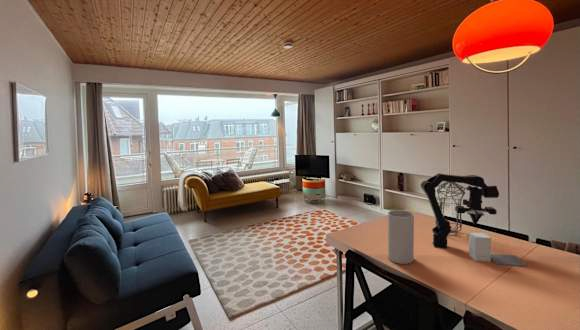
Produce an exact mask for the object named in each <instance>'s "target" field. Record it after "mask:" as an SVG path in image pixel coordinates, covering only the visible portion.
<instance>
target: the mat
mask: <svg viewBox="0 0 580 330" xmlns="http://www.w3.org/2000/svg"><path fill="white" fill-rule="evenodd" d="M491 262H493V263H494V264H495V265H501V266H502V265H503V266H512V267H525V268H526V267H528V266H527V264H526V263H525V262H523V260H522V259H520V258H519V257H518V256H517V255H514V254H513V255H512V254H499V253H491Z"/></svg>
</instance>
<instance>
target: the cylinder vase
mask: <svg viewBox="0 0 580 330" xmlns="http://www.w3.org/2000/svg"><path fill="white" fill-rule="evenodd" d="M414 220H415V214H414V212H411V211H408V210H401V209H397V210H396V209H395V210H389V211H388V212H387V245H388V246H387V253H388V255H387V257H388V259H389V260H390V261H391V262H393V263H395V264H399V265H408V263H409V264H412V263H413V262H414V251H415V250H414V244H415V242H414V237H415V236H414V235H415V233H414V232H415V231H414V229H415V225H414V224H415V221H414Z"/></svg>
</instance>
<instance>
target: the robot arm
mask: <svg viewBox="0 0 580 330" xmlns="http://www.w3.org/2000/svg"><path fill="white" fill-rule="evenodd" d="M443 182H455V183H457V184H465V185H468V186H467V187H465V190H467V191H469V197H468V199H463V198H462V205H461V206H458V205H455V207H454V211H455V212H456V214H457V213H459V214H460V213H461V214H465V213H466V214H467V215H468V216H470V219H471V221H472V223H473V225H474V226H476V225H477V224H478V222H479V221H480V219H481V217H484V216H485V214H484V213H488V214H489V215H497V209H496V208H494V207H493V206H485V207H484V208H483V207H482V205H483V200H482V199H483V198H485V199H497V198H499V197H500V191H499V190H498V186H497V185H487V184H486V182H485V180H484V178H483V177H482V176H479V175H476V174H472V175H471V174H470V175H469V174H468V175H455V174H448V173H447V174H446V173H445V174H444V173H440V172H439V173H436V174H435V175H433V176H431V177H430V178H428V179H427V180H422V182H421V183H420V189H421V190H422V191H423V193H424V195H425V196H426V197H427V199H428V203H429V205H430V207H431V210H432V212H433V215H434V218H435V227H433V228H432V230H431V231H432V233H433V234H432V237H433V238H432V245H433V247H434V248H443V249H447V248H448V236H449V235H450V234H451V233H450V232H452V231H451V230H452V229H453V227H452V226H451V224H450V223H451V222H450V221H449V220H448V219H447V218H445V217H444V215H443V211H442V212H441V209H440V203H439V202H438V199H437V196H436V188H437V187H438V186H439V185H441V184H442V183H443Z"/></svg>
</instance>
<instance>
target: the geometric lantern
mask: <svg viewBox="0 0 580 330" xmlns="http://www.w3.org/2000/svg"><path fill="white" fill-rule="evenodd" d="M447 185H448V186H447ZM437 187H438V188H437V189H435V192H437V195H438V200H439V207H440V209H441V212H442V214H443V216H444V214H445V213H444V212H445V204H446V202H445V201H446V199H447V200H451V199H452V200H453V201H454V202H453V203H452V202H447V204H449V205H451V204H452V205H454V204H455V205H456V206H462V202H463V198H464V196H465V195H466V192H465V190H466V189H465V188H466V187H465V186H462V185H461V184H460V183H457V182H447V181H444V182H442V183H440V184H439V185H438V186H437ZM443 189H444V190H446V191H444V190H443ZM456 189H457V190H456ZM457 192H459V193H457ZM448 194H450V195H449V196H448ZM453 194H454V195H453ZM443 195H444V197H443ZM459 195H461V197H459ZM440 196H441V197H440ZM454 197H457V198H454ZM456 200H457V201H456ZM457 202H458V203H457ZM462 220H463V219H462V213H457V212H456V223H454V222H450V225H455V226H454V227H452V229H451V232H450V233H449V234H451V236H452V237H453V236H455V237H456V236H458V233H459V232H461V231H462V223H463V222H462ZM458 229H459V230H458Z"/></svg>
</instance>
